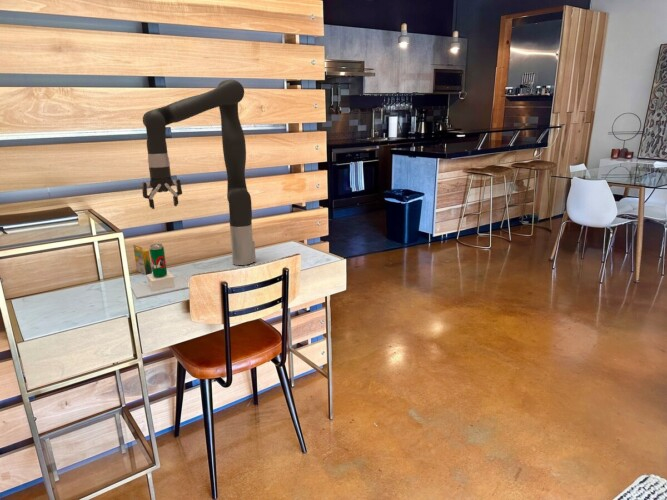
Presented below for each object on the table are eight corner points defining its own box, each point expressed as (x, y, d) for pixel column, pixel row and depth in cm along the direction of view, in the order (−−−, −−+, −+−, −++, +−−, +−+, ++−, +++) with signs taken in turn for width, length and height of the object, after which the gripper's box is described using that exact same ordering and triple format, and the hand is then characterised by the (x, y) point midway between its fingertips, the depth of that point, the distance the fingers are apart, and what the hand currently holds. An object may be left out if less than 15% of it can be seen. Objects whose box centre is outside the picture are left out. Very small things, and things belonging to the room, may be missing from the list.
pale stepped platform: (183, 276, 186) (181, 265, 185) (193, 287, 175) (191, 276, 174) (130, 286, 176) (128, 275, 175) (137, 299, 165) (135, 287, 164)
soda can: (169, 273, 177) (165, 243, 173) (163, 278, 172) (159, 247, 168) (156, 273, 177) (152, 243, 173) (150, 277, 172) (146, 247, 169)
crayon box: (152, 272, 191) (148, 246, 188) (145, 274, 189) (141, 247, 186) (143, 269, 196) (139, 242, 192) (136, 271, 194) (132, 244, 190)
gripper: (175, 163, 182) (180, 203, 187) (137, 165, 175) (143, 207, 180) (180, 164, 176) (185, 206, 181) (141, 167, 169) (147, 211, 174)
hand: (164, 207), depth 181 cm, fingers open, 8 cm apart
